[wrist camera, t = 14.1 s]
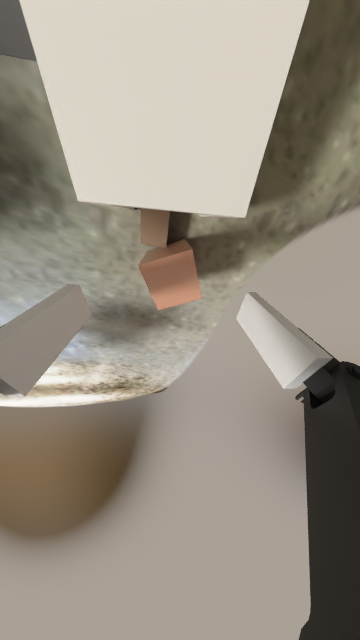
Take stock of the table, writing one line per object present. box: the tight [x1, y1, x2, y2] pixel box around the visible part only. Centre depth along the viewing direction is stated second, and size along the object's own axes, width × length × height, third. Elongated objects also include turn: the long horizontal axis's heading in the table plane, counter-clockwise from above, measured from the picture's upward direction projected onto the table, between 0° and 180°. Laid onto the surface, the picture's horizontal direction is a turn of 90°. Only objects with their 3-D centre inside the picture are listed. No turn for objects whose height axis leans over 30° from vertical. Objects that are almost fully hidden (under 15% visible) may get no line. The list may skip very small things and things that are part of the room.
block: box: [138, 239, 202, 310], centre depth 14 cm, size 4×4×6 cm
